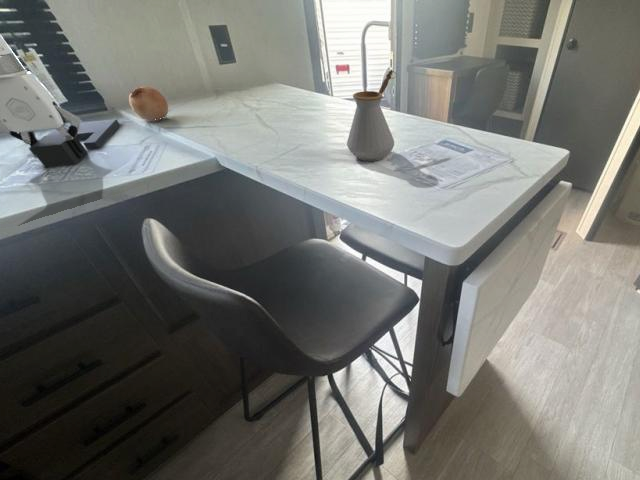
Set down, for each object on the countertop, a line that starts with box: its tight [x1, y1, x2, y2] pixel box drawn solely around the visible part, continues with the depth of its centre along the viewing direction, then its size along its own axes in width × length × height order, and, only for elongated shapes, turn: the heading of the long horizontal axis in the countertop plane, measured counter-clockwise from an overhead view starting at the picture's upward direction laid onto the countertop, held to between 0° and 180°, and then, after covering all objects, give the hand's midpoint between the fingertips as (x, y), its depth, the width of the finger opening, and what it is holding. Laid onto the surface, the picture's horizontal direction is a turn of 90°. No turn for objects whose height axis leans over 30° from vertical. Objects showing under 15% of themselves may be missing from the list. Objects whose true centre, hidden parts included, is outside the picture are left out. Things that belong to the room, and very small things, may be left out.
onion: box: [128, 85, 169, 123], centre depth 94 cm, size 10×9×10 cm
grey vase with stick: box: [346, 69, 398, 162], centre depth 75 cm, size 21×12×15 cm, turn 160°
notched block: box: [28, 118, 120, 156], centre depth 86 cm, size 14×20×2 cm
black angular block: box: [29, 134, 88, 168], centre depth 74 cm, size 6×8×4 cm
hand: (65, 157), depth 76 cm, fingers closed on black angular block, 6 cm apart
